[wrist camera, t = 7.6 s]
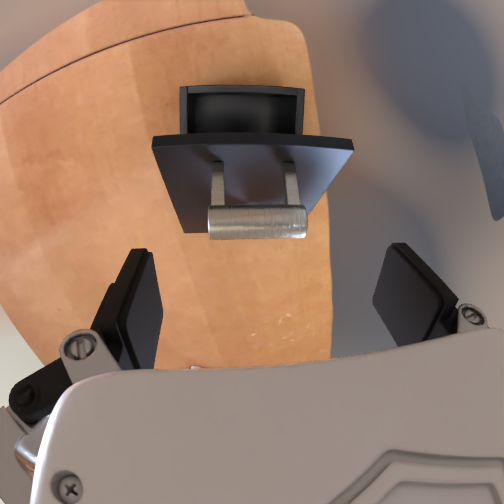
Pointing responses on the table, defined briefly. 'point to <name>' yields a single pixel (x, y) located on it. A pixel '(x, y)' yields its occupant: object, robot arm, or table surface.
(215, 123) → the black hollow box
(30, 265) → the table surface
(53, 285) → the table surface
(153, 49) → the table surface
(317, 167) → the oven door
